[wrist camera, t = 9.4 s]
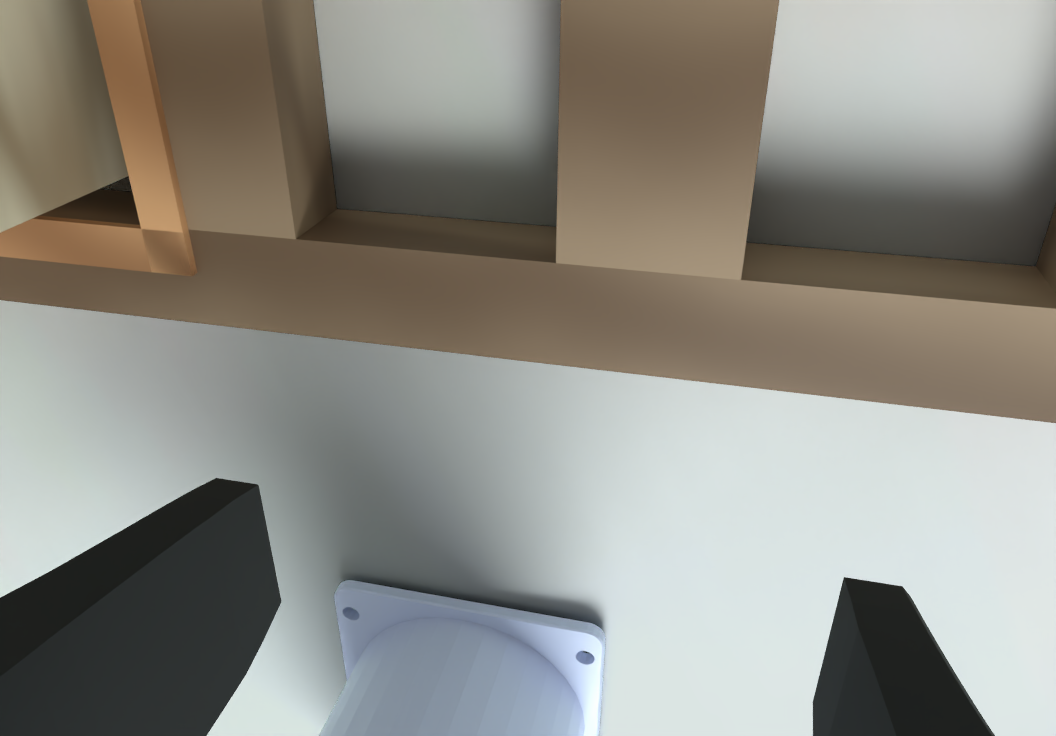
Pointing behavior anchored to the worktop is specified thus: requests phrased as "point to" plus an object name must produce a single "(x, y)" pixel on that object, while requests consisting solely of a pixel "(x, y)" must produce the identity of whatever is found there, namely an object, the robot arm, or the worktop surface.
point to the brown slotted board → (520, 249)
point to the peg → (52, 110)
